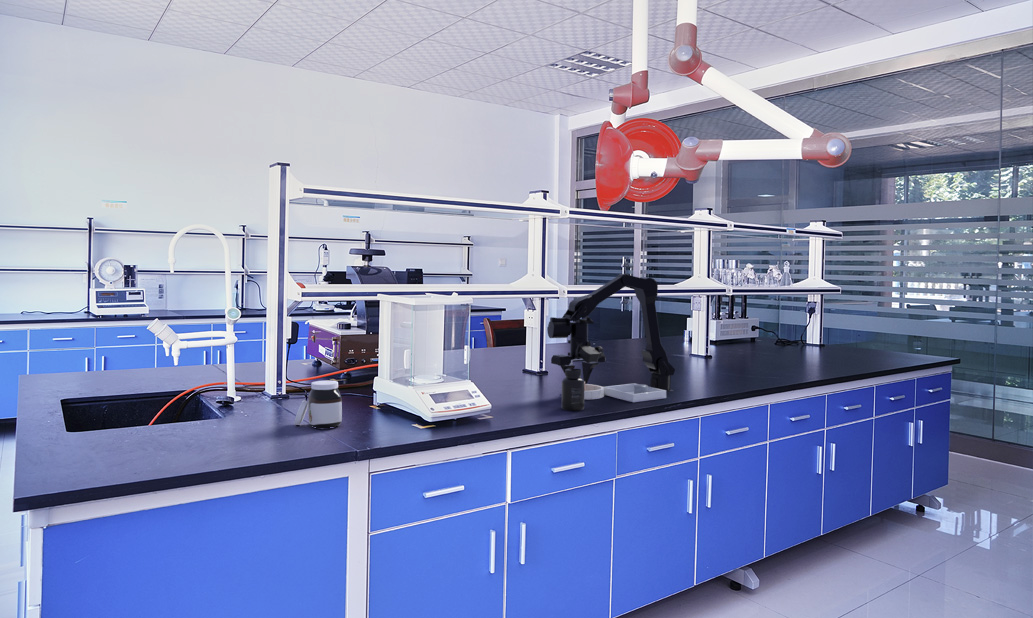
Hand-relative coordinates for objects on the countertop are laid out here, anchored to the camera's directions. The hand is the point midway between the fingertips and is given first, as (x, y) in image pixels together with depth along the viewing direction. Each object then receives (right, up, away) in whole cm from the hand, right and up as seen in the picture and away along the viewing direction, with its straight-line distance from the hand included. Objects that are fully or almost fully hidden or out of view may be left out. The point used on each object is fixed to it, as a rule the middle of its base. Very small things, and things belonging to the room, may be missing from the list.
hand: (578, 384), depth 220 cm
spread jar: (-73, -6, -45) cm, 86 cm away
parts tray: (+18, -4, -2) cm, 19 cm away
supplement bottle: (-4, -5, -20) cm, 21 cm away
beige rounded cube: (0, -3, 0) cm, 3 cm away
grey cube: (+20, -4, -5) cm, 21 cm away
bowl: (+1, -4, -2) cm, 5 cm away
